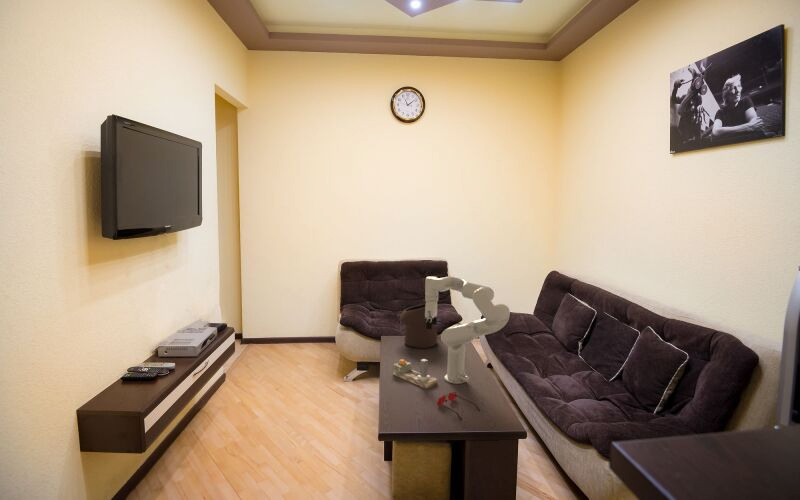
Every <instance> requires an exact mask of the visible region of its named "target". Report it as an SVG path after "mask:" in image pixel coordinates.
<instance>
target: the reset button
mask: <svg viewBox="0 0 800 500" xmlns="http://www.w3.org/2000/svg"><path fill="white" fill-rule="evenodd" d="M398 363H399V365H401V366H404V365H405V364H406V359H399V362H398Z"/></svg>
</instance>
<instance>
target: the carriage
mask: <svg viewBox="0 0 800 500" xmlns="http://www.w3.org/2000/svg"><path fill="white" fill-rule="evenodd" d="M419 360H420V368H419V369H420V371H419V373H420V375H418V376H417V379H419V380H421V381H425V380H428V379H430V378H431V375H430V374H428V364H429V363H428V362H429V360H428V359H425V358H422V359H419Z"/></svg>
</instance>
